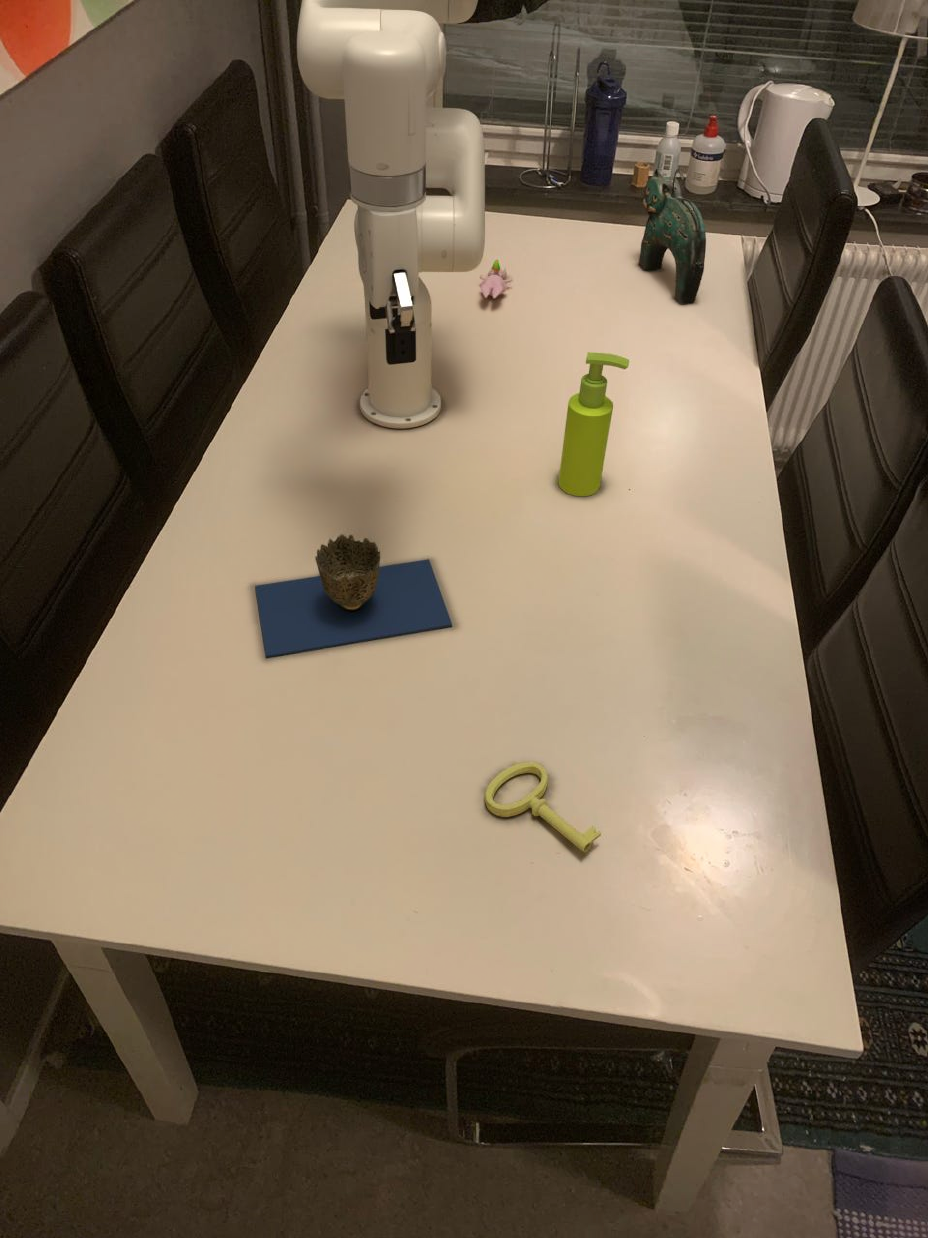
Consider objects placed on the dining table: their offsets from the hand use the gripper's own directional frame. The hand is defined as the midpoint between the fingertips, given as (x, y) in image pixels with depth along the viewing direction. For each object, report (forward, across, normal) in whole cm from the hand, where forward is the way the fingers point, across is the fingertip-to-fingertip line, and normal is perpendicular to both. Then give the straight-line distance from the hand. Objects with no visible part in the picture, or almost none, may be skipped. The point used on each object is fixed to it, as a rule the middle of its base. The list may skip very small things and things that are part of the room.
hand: (392, 338), depth 102 cm
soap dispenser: (+28, -3, +27) cm, 39 cm away
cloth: (+27, +14, -9) cm, 32 cm away
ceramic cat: (+30, -60, +65) cm, 93 cm away
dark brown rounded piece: (+27, +14, -8) cm, 31 cm away
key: (+26, +47, +5) cm, 54 cm away
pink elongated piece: (+29, -62, +31) cm, 75 cm away
